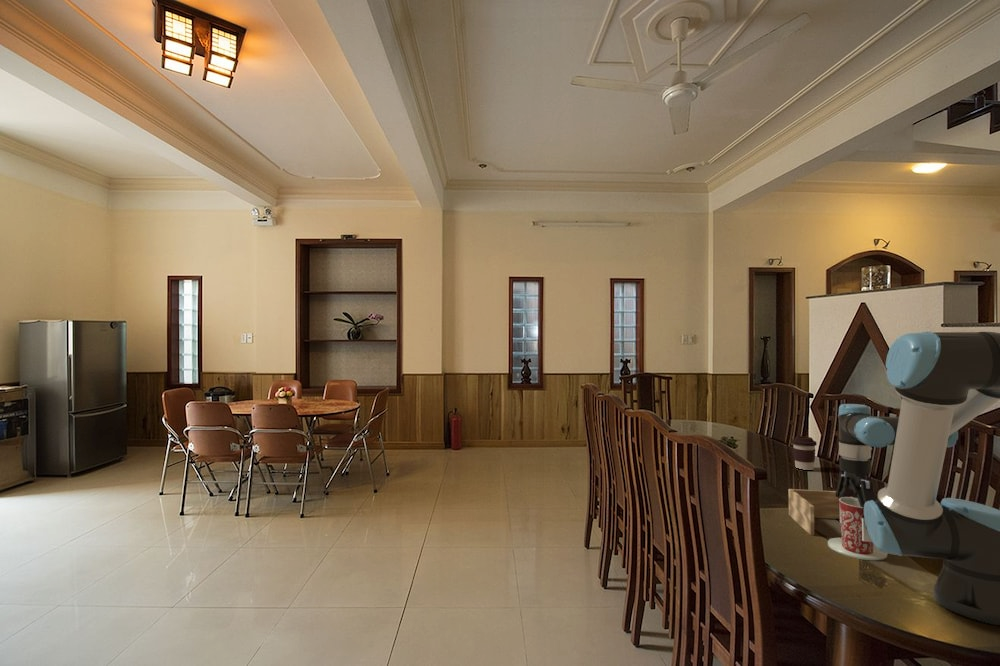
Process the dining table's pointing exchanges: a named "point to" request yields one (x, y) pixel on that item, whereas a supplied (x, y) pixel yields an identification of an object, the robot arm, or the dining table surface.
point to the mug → (853, 526)
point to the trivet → (837, 547)
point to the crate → (812, 506)
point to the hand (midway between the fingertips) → (856, 532)
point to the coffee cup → (804, 452)
